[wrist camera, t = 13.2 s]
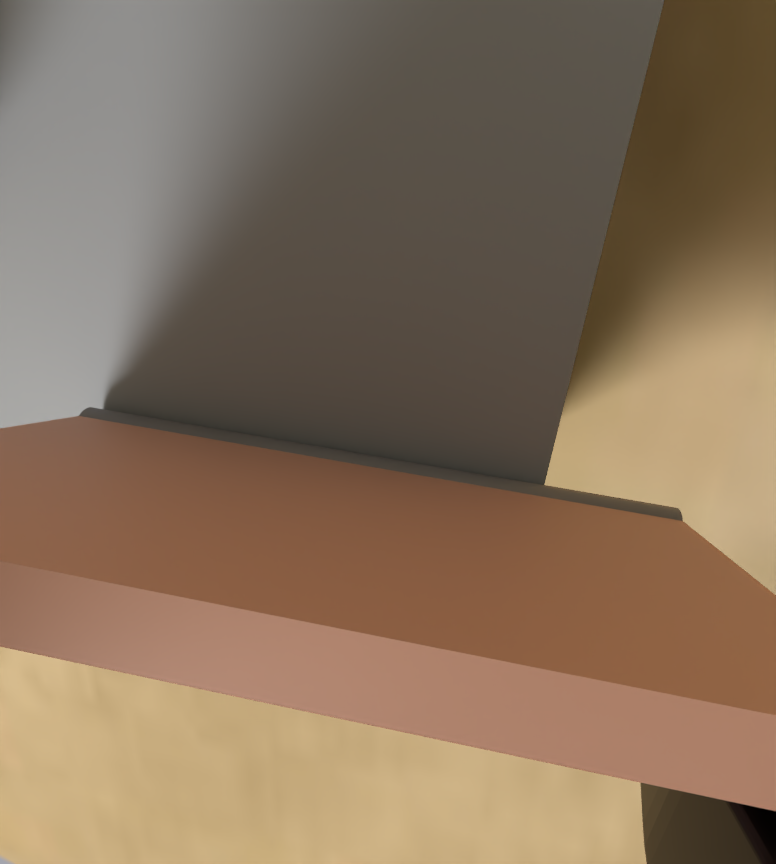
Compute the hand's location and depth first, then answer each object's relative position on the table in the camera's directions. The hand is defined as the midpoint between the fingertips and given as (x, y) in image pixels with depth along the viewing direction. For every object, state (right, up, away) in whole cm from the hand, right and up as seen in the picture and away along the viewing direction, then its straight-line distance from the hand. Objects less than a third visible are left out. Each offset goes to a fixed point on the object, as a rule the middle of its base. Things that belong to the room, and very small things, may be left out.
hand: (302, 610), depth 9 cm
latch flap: (+1, +1, +5) cm, 5 cm away
